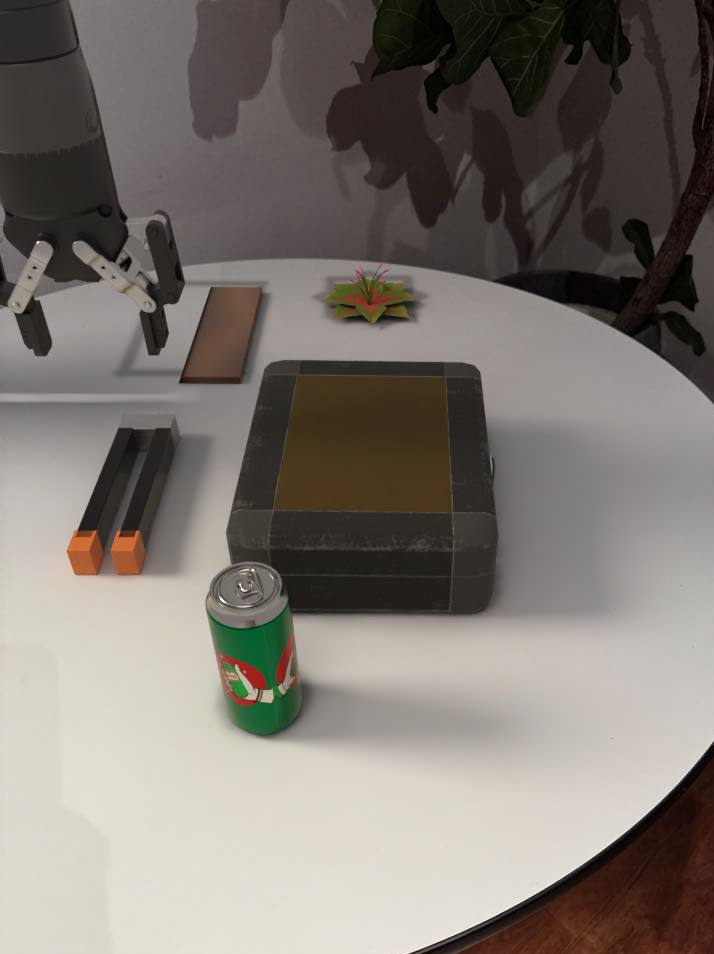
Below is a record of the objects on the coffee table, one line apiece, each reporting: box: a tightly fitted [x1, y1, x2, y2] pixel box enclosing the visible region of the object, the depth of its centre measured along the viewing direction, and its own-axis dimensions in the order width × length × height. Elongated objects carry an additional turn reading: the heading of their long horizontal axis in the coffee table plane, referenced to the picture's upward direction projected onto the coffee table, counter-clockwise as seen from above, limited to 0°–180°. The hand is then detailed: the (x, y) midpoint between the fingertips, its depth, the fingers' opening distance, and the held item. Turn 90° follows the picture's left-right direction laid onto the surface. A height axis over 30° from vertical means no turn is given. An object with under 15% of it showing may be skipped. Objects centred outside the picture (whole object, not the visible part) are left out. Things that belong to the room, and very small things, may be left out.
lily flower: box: [320, 263, 419, 326], centre depth 101 cm, size 12×12×5 cm
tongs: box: [66, 413, 180, 575], centre depth 75 cm, size 19×5×3 cm, turn 1°
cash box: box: [225, 359, 499, 614], centre depth 73 cm, size 25×20×8 cm
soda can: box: [204, 562, 303, 735], centre depth 56 cm, size 5×5×12 cm
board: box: [178, 286, 263, 384], centre depth 97 cm, size 12×20×1 cm, turn 1°
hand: (100, 351), depth 67 cm, fingers open, 8 cm apart
